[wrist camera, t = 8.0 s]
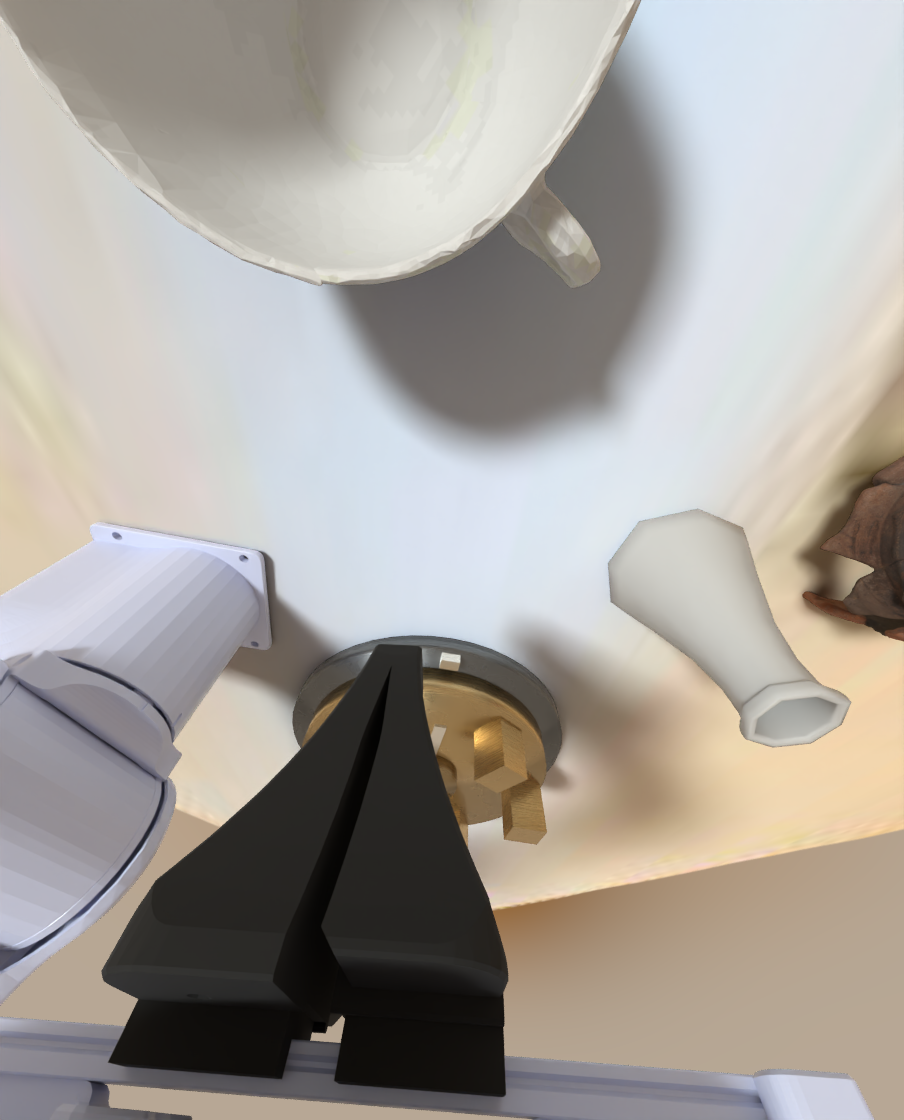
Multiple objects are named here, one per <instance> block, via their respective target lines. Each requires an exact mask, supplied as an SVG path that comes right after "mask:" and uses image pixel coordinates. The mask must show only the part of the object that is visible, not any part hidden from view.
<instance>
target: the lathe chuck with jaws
mask: <svg viewBox="0 0 904 1120" xmlns="http://www.w3.org/2000/svg"><path fill="white" fill-rule="evenodd" d="M356 678H357V677H356ZM356 678H353V679H351V680H349V681H347V682H345V683H343V684H341V685H340V686H338V687H337V688H335V689H334V690H332V691H331V692H330V693H329V694H328V695H327V696H326V697H325V698H324V699H323V700H322V701H321V702H320V704H319V705H318V707H317V708H316V710H315V713H314V715H313V718H312V720H311V723H310V725H309V728H308V730H307V733H306V735H305V738H304V741H303V744H302V747H303V746H304V745H305V744H306V743H307V742H308V740H309V739H310V738H311V737H312V736H313V735H314V733H315V732H316V731H317V730H318V729H319V727H320V726H321V725H322V724H323V722H324V721H325V720H326V718H327V717H328V716H329V715H330V713H331V712H332V711H333V710H334V708H335V707H336V706H337V704H338V703H339V702H340V700H341V699H342V698H343V696H344V695H345V693H346V692H347V691H348V689H349V688H350V686H351V685H352V683H353V682H354V681H355V679H356ZM423 699H424V705H425V711H426V716H427V721H428V726H429V730H430V735H431V739H432V743H433V747H434V751H435V754H436V758H437V761H438V765H439V768H440V772H441V775H442V778H443V781H444V785H445V788H446V791H447V794H448V797H449V799H450V802H451V805H452V808H453V811H454V813H455V816H456V819H457V822H458V824H459V827H460V830H461V833H462V835H463V838H464V840H465V843H466V845H467V848H468V825H472V824H477V823H482V822H486V821H489V820H493V819H496V818H499V817H502V816H503V831H504V840H511V841H517V842H524V843H530V844H537V843H538V842H539V841H540V840H541V839H542V838H543V836H544V835H545V834H546V833H547V830H546V823H545V816H544V810H543V803H542V796H541V789H540V788H541V786H542V784H543V782H544V779H545V776H546V767H547V765H546V759H545V753H544V747H543V742H542V736H541V730H540V728H539V725H538V723H537V721H536V719H535V718H534V716H533V715H532V713H531V712H530V711H529V710H528V708H527V707H526V706H525V705H524V704H523V703H522V702H521V701H519V700H518V699H517V698H516V697H514V696H513V695H512V694H510V693H508V692H507V691H505V690H503V689H502V688H500V687H498V686H496V685H494V684H492V683H490V682H487V681H485V680H483V679H480V678H477V677H474V676H471V675H467V674H463V673H459V672H455V671H450V670H443V669H436V668H423Z"/></svg>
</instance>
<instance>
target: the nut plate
mask: <svg viewBox="0 0 904 1120" xmlns="http://www.w3.org/2000/svg"><path fill="white" fill-rule="evenodd" d="M378 644H393V645H414V646H419V647H421V648H422V659H423V668H436V669H443V670H450V671H455V672H459V673H463V674H467V675H471V676H474V677H477V678H480V679H483V680H485V681H487V682H490V683H492V684H494V685H496V686H498V687H500V688H502V689H503V690H505V691H507V692H508V693H510V694H512V695H513V696H514V697H516V698H517V699H518V700H519V701H521V702H522V703H523V704H524V705H525V706H526V707H527V708H528V710H529V711H530V712H531V713H532V715H533V716H534V718H535V719H536V721H537V723H538V725H539V728H540V730H541V736H542V742H543V747H544V753H545V759H546V765H547V767H546V772H547V771H548V770H549V769H550V767H551V766H552V765H553V763H554V762H555V760H556V758H557V756H558V754H559V750H560V746H561V737H562V732H561V727H560V722H559V717H558V713H557V708H556V705H555V703H554V701H553V698H552V696H551V695H550V693H549V692H548V690H547V689H546V687H545V686H544V685H543V684H542V683H541V682H540V681H539V679H538V678H537V677H536V676H535V675H534V674H532V673H531V672H530V671H528V670H527V669H526V668H525V667H523V666H522V665H520V664H519V663H517V662H515V661H514V660H512V659H510V658H509V657H507V656H505V655H503V654H500V653H498V652H496V651H494V650H492V649H489V648H486V647H483V646H480V645H477V644H474V643H470V642H465V641H461V640H456V639H451V638H443V637H435V636H399V637H389V638H383V639H378V640H372V641H369V642H365V643H362V644H358V645H355V646H353V647H350V648H348V649H346V650H343V651H341V652H339V653H337V654H336V655H334V656H332V657H331V658H329V659H327V660H326V661H325V662H324V663H322V664H321V665H320V666H319V667H318V668H316V669H315V671H314V672H313V673H312V674H311V675H310V677H309V678H308V679H307V681H306V683H305V685H304V686H303V688H302V690H301V693H300V695H299V697H298V699H297V701H296V704H295V708H294V711H293V729H294V734H295V737H296V739H297V742H298V744H299V746H300V747H301V748H302V744H303V741H304V738H305V735H306V733H307V730H308V728H309V725H310V723H311V720H312V718H313V715H314V713H315V710H316V708H317V707H318V705H319V704H320V702H321V701H322V700H323V699H324V698H325V697H326V696H327V695H328V694H329V693H330V692H331V691H332V690H334V689H335V688H337V687H338V686H340V685H341V684H343V683H345V682H347V681H349V680H351V679H353V678H356V677H357V676H358V675H359V673H360V672H361V670H362V668H363V667H364V665H365V664H366V662H367V660H368V659H369V657H370V655H371V654H372V652H373V650H374V648H375V647H376V646H377V645H378Z"/></svg>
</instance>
